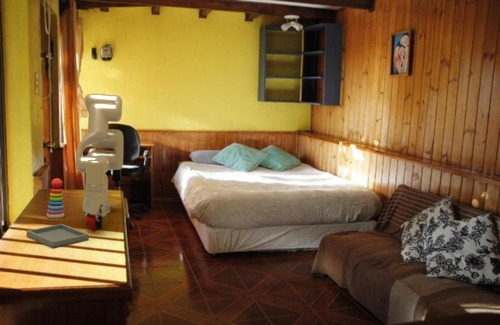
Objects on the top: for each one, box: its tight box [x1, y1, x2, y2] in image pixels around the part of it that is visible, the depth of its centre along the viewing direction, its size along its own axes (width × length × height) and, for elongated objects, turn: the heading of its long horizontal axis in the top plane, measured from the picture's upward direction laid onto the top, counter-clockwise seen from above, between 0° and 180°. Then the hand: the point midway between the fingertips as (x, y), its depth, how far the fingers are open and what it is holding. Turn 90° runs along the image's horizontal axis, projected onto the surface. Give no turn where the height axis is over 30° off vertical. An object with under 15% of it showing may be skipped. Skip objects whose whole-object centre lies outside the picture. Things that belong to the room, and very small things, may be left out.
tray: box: [26, 223, 90, 249], centre depth 198 cm, size 16×20×2 cm
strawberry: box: [84, 214, 104, 233], centre depth 209 cm, size 6×8×10 cm
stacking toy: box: [46, 177, 65, 219], centre depth 228 cm, size 8×8×19 cm
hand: (93, 227), depth 210 cm, fingers closed on strawberry, 6 cm apart
